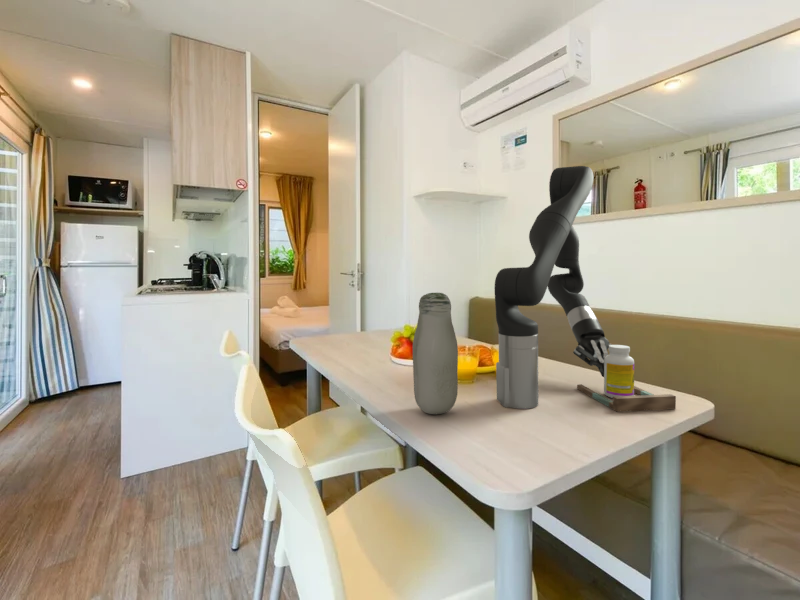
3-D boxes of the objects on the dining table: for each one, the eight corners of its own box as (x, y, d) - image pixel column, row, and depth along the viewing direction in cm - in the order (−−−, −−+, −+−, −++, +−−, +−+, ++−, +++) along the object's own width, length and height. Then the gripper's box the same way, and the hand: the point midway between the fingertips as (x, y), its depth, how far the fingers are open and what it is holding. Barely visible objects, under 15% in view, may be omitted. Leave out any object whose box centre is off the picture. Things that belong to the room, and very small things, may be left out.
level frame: (616, 411, 86) (617, 398, 86) (577, 388, 104) (577, 378, 103) (675, 409, 87) (675, 396, 87) (626, 386, 104) (626, 376, 104)
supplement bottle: (638, 401, 93) (638, 349, 92) (608, 399, 94) (608, 348, 93) (628, 392, 99) (629, 344, 98) (600, 391, 101) (601, 343, 100)
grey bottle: (432, 423, 82) (429, 294, 80) (406, 410, 91) (403, 293, 89) (467, 413, 87) (465, 292, 85) (439, 402, 96) (437, 291, 94)
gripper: (567, 318, 108) (591, 371, 97) (612, 316, 109) (640, 369, 98) (558, 333, 114) (579, 385, 103) (601, 331, 115) (627, 383, 103)
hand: (609, 377), depth 100 cm, fingers closed
